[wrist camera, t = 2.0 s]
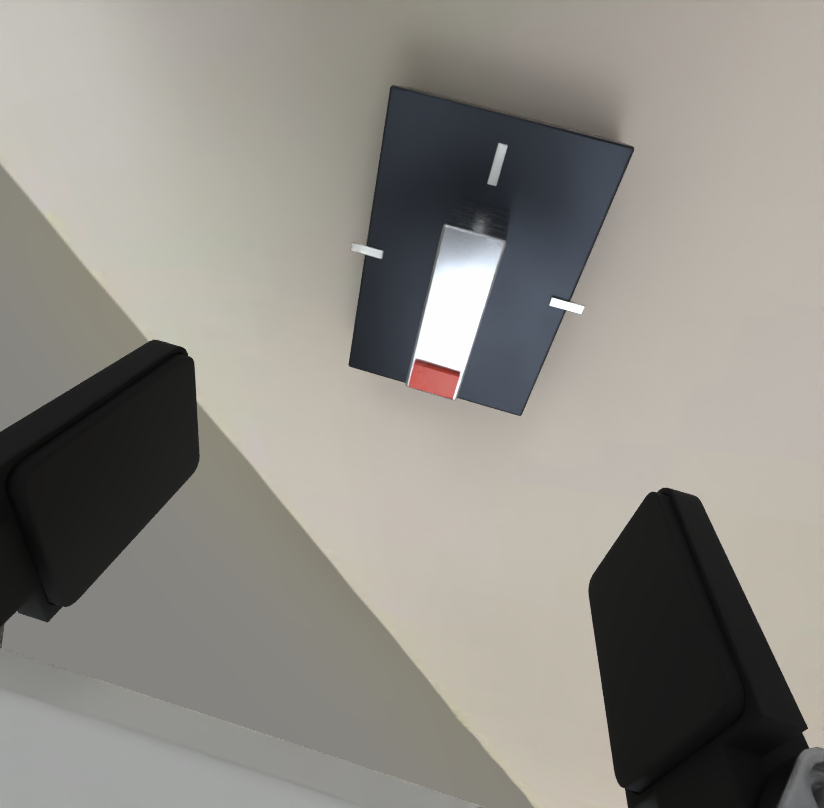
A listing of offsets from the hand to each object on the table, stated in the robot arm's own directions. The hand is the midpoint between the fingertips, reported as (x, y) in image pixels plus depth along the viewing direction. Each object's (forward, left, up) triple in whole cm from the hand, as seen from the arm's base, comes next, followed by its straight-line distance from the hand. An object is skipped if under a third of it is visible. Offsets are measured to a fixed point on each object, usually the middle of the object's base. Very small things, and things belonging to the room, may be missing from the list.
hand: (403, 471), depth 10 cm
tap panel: (0, 0, -16) cm, 16 cm away
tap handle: (0, 0, -13) cm, 13 cm away
